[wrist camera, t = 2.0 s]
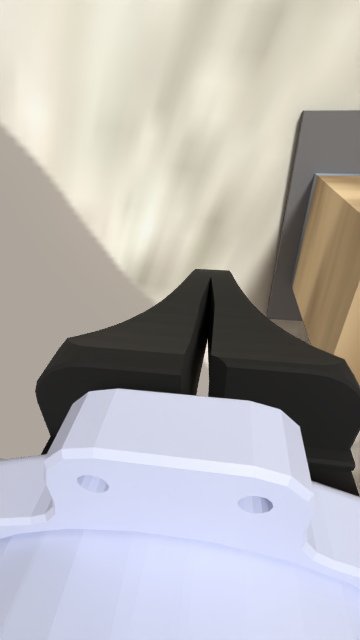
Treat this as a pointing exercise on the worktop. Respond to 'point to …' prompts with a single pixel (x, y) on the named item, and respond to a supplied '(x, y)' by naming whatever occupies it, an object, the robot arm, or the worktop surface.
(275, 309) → the grey flat rectangular piece
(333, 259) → the oak block
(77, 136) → the worktop surface
